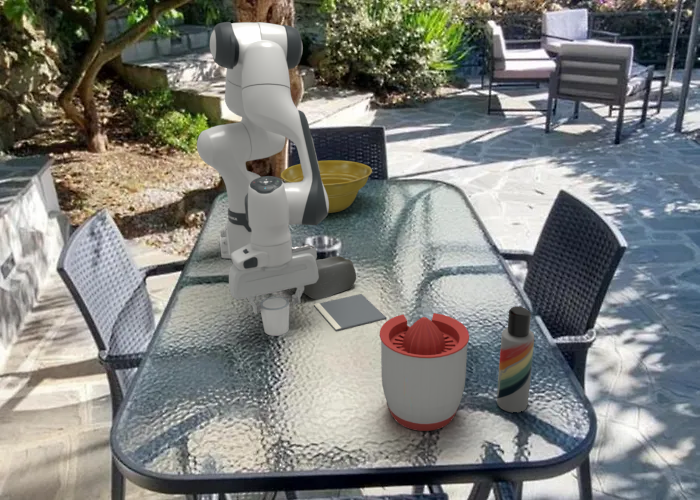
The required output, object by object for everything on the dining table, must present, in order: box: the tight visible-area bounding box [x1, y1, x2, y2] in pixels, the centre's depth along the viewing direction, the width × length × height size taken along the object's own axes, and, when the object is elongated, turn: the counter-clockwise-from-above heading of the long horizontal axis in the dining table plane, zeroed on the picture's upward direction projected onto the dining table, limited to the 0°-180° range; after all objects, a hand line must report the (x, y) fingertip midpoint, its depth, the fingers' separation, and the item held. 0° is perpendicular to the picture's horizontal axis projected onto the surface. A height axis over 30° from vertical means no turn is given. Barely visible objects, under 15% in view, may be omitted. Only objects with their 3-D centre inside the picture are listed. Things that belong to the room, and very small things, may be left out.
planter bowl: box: [280, 159, 373, 214], centre depth 226 cm, size 32×32×13 cm
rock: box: [289, 255, 357, 300], centre depth 166 cm, size 18×11×8 cm, turn 122°
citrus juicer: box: [379, 312, 470, 432], centre depth 115 cm, size 16×17×20 cm
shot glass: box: [259, 296, 291, 337], centre depth 147 cm, size 7×7×7 cm
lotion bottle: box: [496, 305, 535, 413], centre depth 116 cm, size 6×6×20 cm
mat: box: [313, 293, 387, 332], centre depth 155 cm, size 14×13×1 cm
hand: (276, 307), depth 145 cm, fingers open, 8 cm apart
